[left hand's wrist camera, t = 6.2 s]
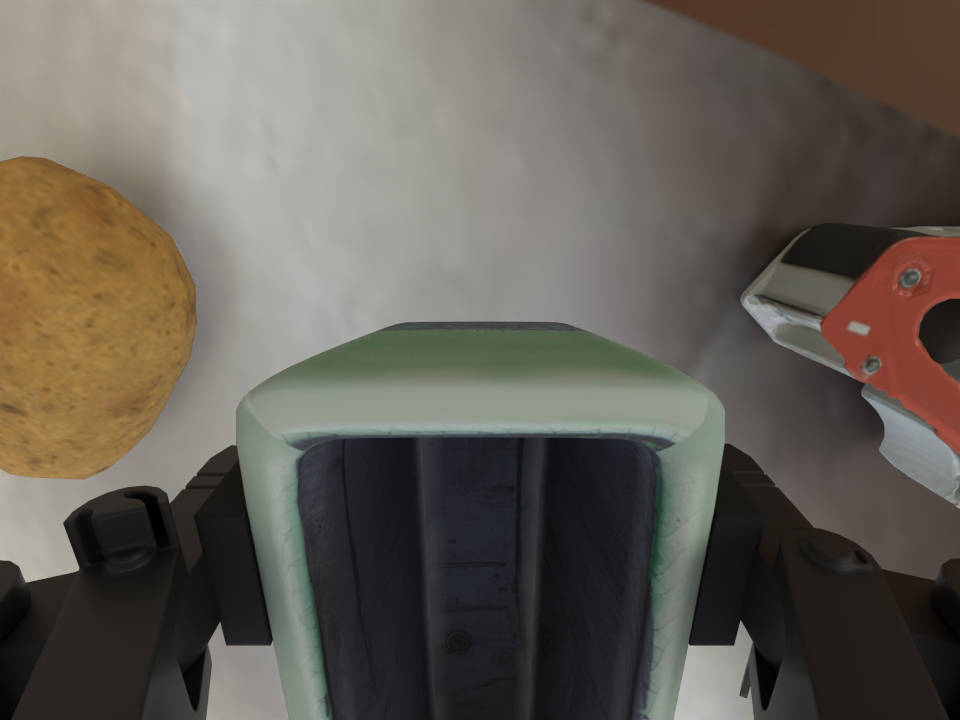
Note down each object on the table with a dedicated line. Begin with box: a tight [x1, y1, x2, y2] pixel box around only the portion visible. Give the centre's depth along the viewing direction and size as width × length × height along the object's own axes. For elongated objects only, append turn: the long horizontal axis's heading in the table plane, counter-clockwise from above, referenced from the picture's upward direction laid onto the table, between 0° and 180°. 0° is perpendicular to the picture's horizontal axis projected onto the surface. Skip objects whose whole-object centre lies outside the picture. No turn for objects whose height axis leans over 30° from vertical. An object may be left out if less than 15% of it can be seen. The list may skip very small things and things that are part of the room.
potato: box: [0, 156, 196, 479], centre depth 20 cm, size 9×13×7 cm
